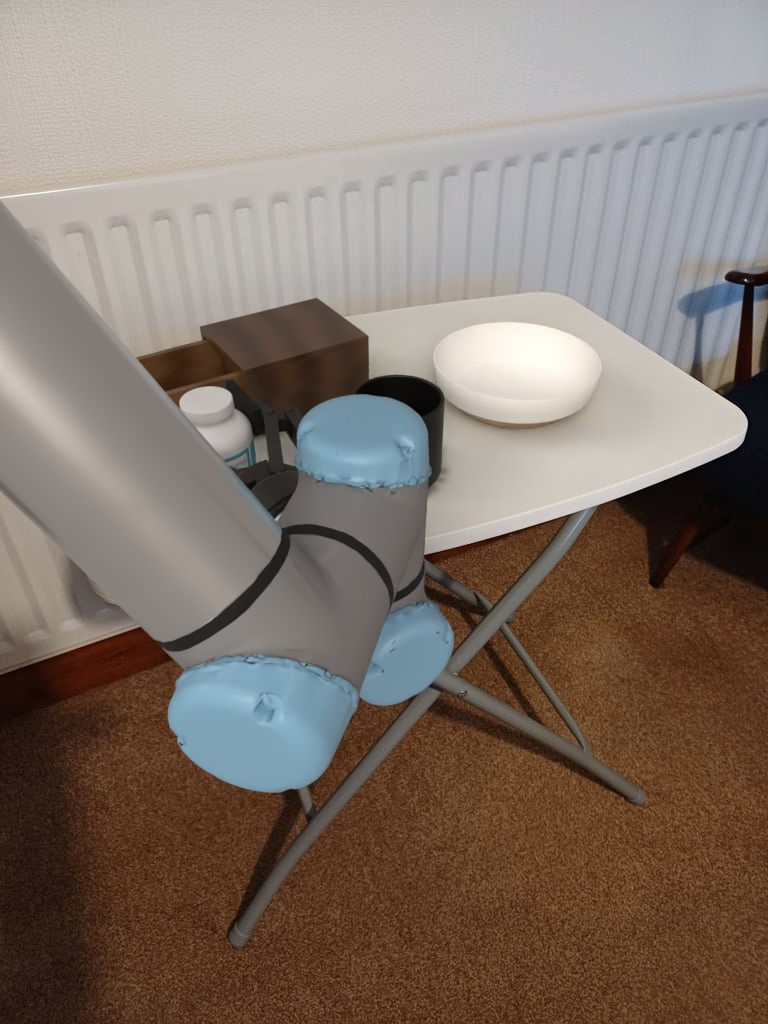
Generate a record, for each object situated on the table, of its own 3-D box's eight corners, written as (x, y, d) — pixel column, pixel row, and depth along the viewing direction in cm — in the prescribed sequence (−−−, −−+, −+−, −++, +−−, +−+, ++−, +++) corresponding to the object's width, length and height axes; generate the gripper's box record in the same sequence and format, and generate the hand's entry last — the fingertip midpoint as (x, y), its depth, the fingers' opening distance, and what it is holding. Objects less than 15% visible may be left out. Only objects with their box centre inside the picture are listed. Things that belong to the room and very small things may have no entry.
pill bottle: (207, 489, 81) (187, 373, 73) (274, 501, 80) (261, 384, 71) (173, 533, 76) (147, 413, 67) (244, 547, 74) (227, 426, 66)
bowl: (490, 467, 84) (495, 418, 81) (401, 387, 98) (402, 342, 94) (628, 420, 92) (639, 374, 88) (528, 352, 105) (533, 309, 101)
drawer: (96, 476, 82) (80, 420, 77) (67, 426, 89) (51, 373, 85) (266, 423, 90) (260, 370, 85) (227, 381, 97) (220, 331, 93)
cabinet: (251, 438, 89) (243, 370, 84) (209, 390, 97) (199, 326, 92) (369, 400, 95) (368, 335, 90) (320, 359, 104) (316, 297, 98)
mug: (473, 459, 86) (480, 386, 80) (399, 509, 79) (400, 433, 73) (409, 427, 91) (411, 356, 85) (334, 471, 84) (331, 397, 78)
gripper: (181, 622, 57) (93, 468, 73) (411, 528, 66) (289, 408, 81) (163, 545, 53) (73, 398, 68) (413, 455, 61) (283, 341, 76)
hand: (190, 403), depth 74 cm, fingers closed on pill bottle, 7 cm apart
